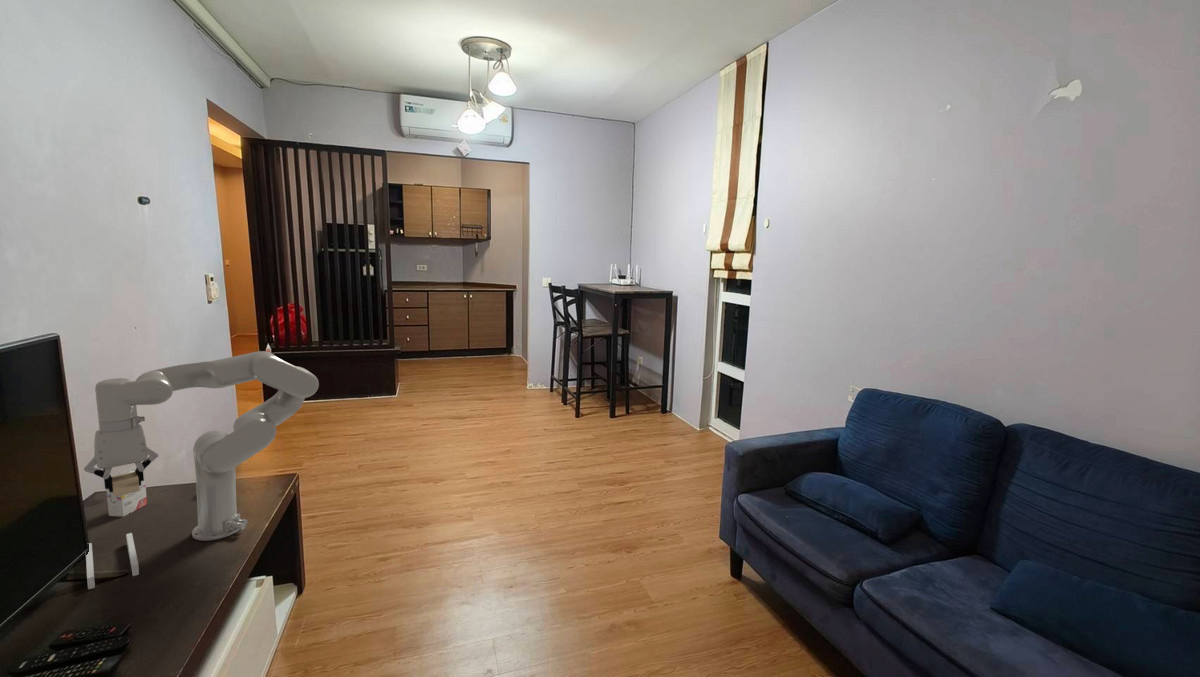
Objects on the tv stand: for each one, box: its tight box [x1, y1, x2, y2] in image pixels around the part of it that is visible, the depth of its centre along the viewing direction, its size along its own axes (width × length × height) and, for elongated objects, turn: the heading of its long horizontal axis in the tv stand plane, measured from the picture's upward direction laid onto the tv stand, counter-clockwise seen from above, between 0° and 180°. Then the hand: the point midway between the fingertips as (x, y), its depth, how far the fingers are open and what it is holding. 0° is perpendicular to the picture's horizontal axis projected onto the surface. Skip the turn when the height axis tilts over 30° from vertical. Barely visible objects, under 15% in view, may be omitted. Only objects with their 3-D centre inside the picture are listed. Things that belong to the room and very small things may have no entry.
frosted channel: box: [85, 532, 140, 590], centre depth 134 cm, size 20×9×3 cm, turn 47°
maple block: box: [111, 472, 140, 497], centre depth 135 cm, size 5×5×4 cm
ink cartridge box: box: [105, 465, 148, 518], centre depth 160 cm, size 9×5×15 cm, turn 179°
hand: (125, 486), depth 136 cm, fingers closed on maple block, 5 cm apart
